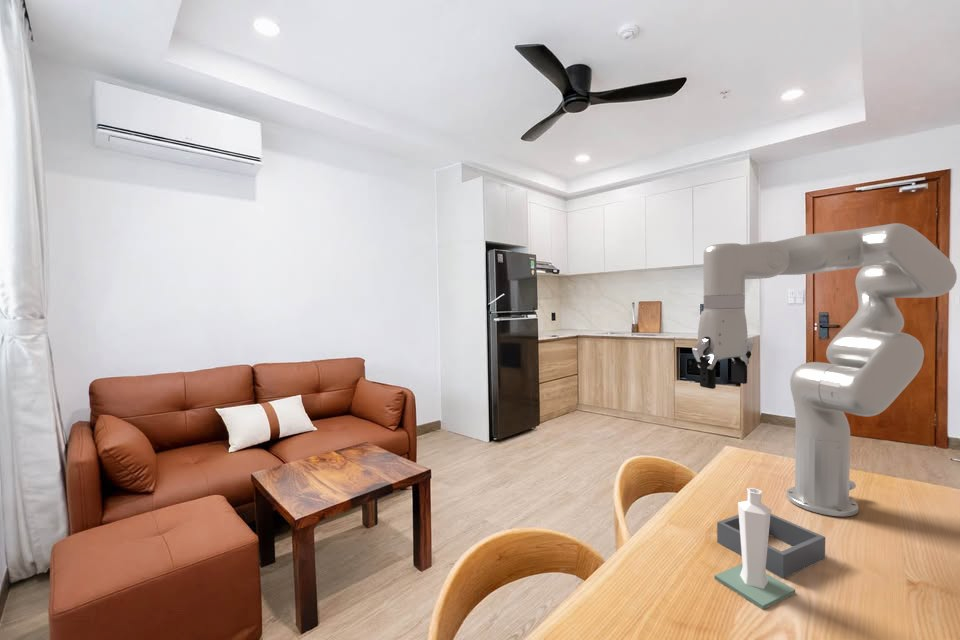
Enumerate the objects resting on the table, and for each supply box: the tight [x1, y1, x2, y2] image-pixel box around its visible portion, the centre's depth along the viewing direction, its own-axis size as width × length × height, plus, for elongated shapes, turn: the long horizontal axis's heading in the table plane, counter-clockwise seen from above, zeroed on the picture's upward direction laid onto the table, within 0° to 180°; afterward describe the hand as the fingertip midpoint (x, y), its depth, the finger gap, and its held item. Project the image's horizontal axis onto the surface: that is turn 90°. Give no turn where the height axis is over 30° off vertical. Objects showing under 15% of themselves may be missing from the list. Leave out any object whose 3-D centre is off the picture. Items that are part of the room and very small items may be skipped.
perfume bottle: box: [737, 487, 772, 589], centre depth 70 cm, size 5×4×15 cm
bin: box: [716, 513, 826, 579], centre depth 80 cm, size 12×12×4 cm
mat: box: [714, 563, 796, 610], centre depth 70 cm, size 8×8×1 cm
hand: (723, 385), depth 91 cm, fingers open, 9 cm apart
